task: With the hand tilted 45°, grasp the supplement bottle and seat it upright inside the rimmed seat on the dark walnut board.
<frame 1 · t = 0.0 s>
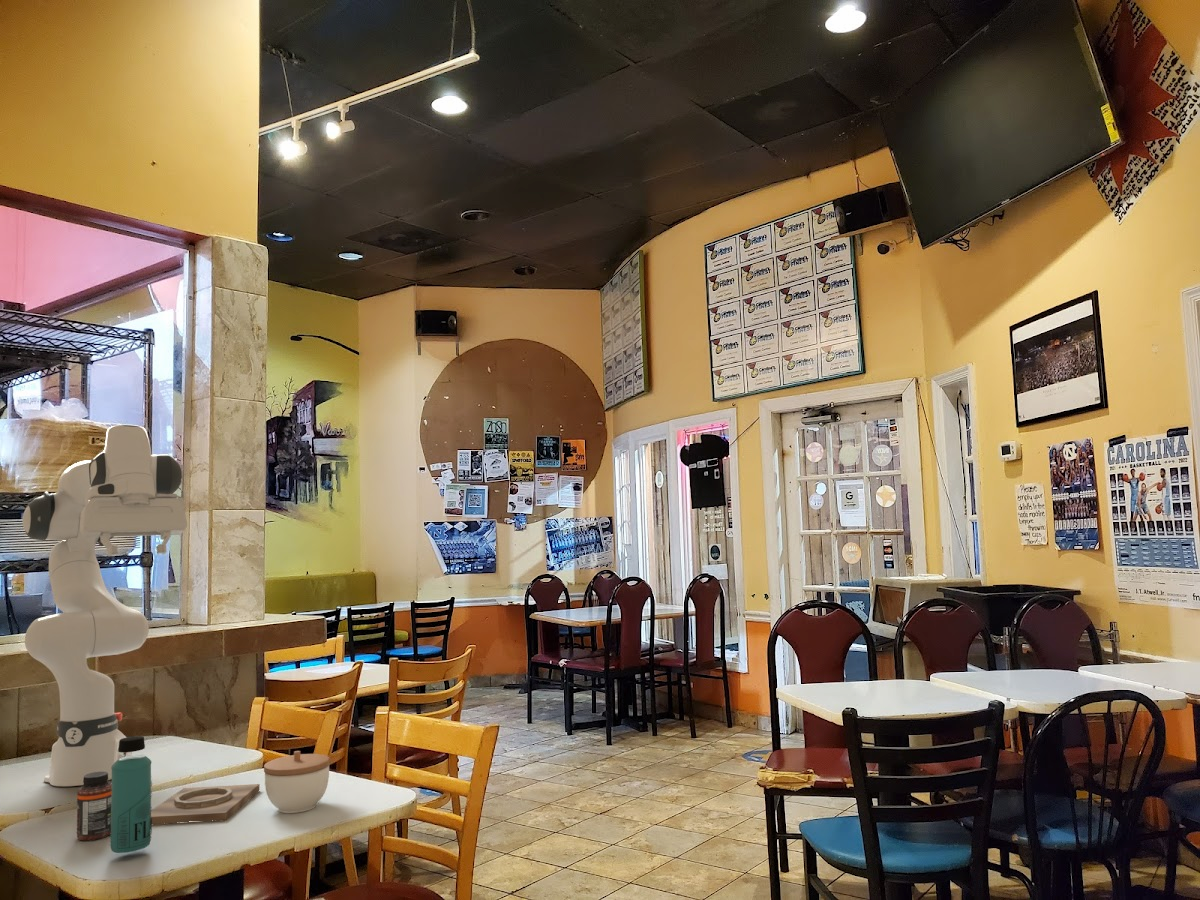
hand: (137, 554, 183), 52 cm above the table, tool tilted 20°, fingers open, 8 cm apart
supplement bottle: (94, 837, 163), on the table
beverage bottle: (130, 856, 152), on the table
lidded bowl: (297, 808, 176), on the table
walnut seat board: (203, 807, 179), on the table
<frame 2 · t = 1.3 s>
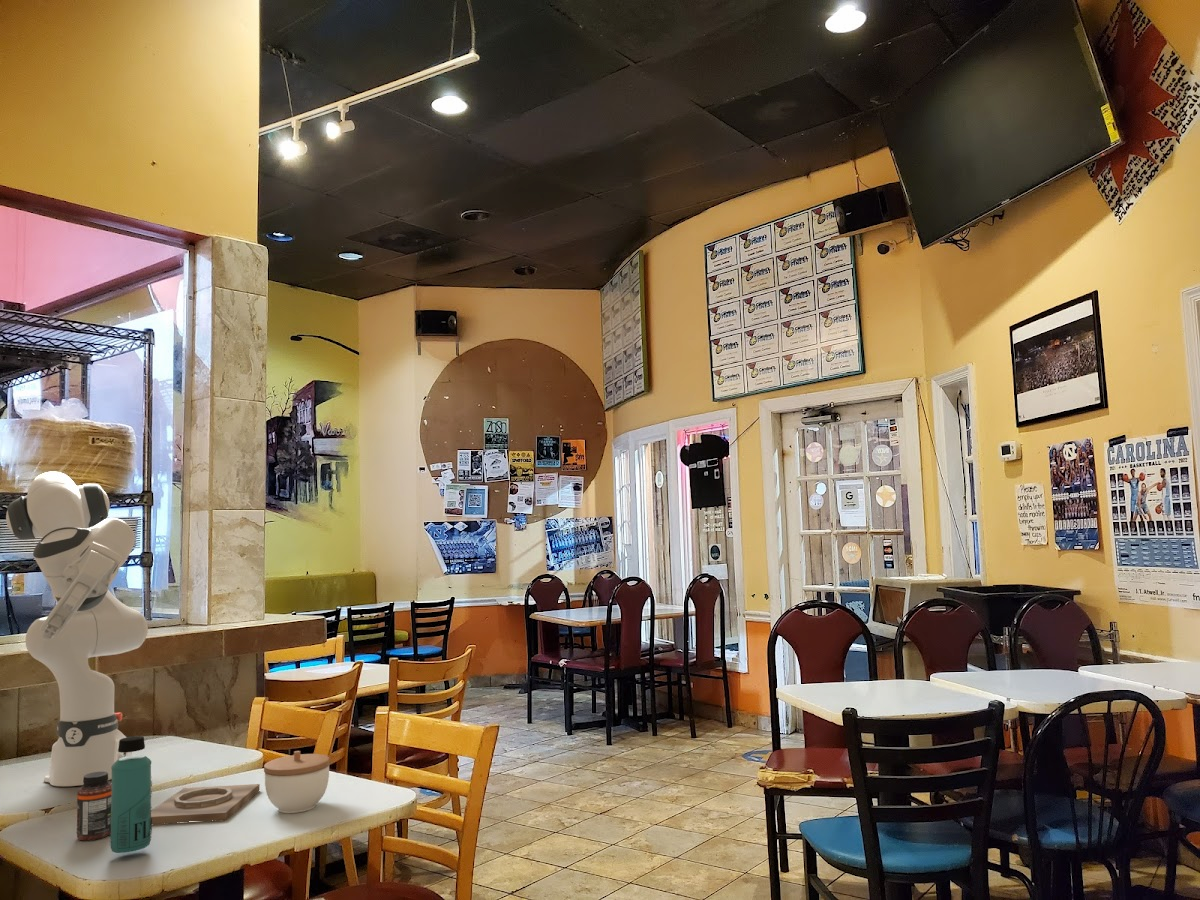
hand: (57, 621, 166), 40 cm above the table, tool tilted 55°, fingers open, 8 cm apart
nothing on the table moved.
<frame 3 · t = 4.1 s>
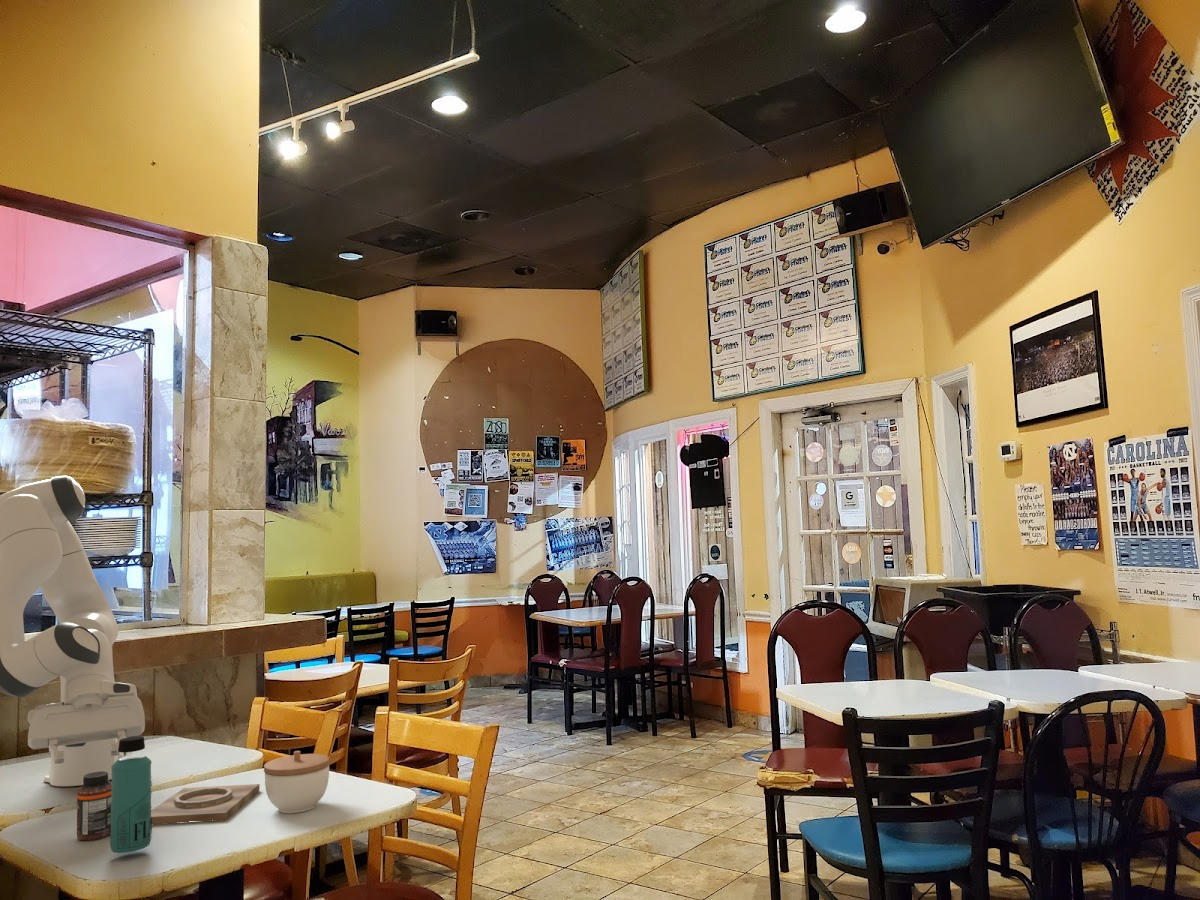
hand: (87, 758, 170), 13 cm above the table, tool tilted 45°, fingers open, 8 cm apart
nothing on the table moved.
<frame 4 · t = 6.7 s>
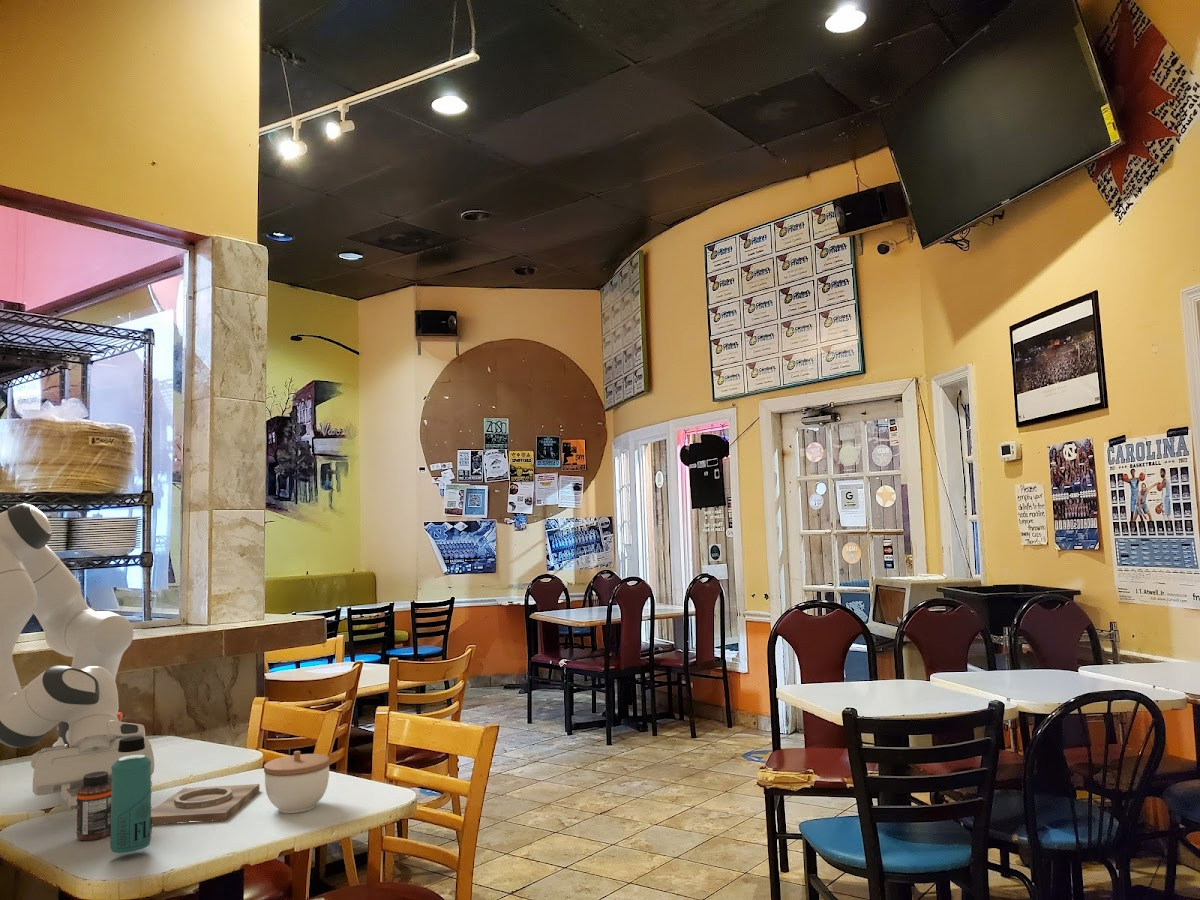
hand: (95, 804, 163), 6 cm above the table, tool tilted 45°, fingers closed on supplement bottle, 6 cm apart
supplement bottle: (94, 837, 163), on the table, touching gripper
everything else where it was.
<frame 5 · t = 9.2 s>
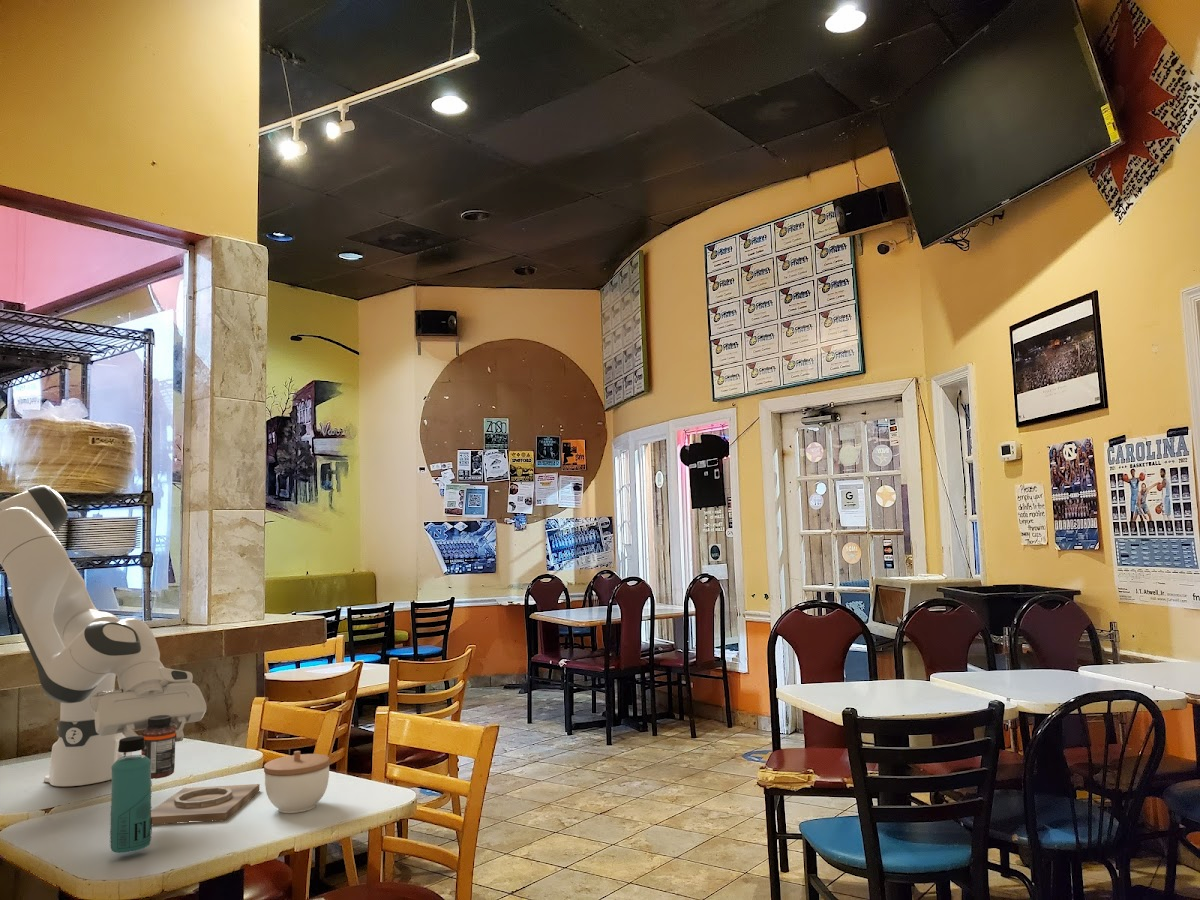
hand: (159, 742, 172), 15 cm above the table, tool tilted 45°, fingers closed on supplement bottle, 6 cm apart
supplement bottle: (157, 776, 172), point 8 cm above the table, touching gripper
everything else where it was.
when the fingers open (9 cm above the table, at t = 12.0 s): supplement bottle drops 1 cm, resting on walnut seat board.
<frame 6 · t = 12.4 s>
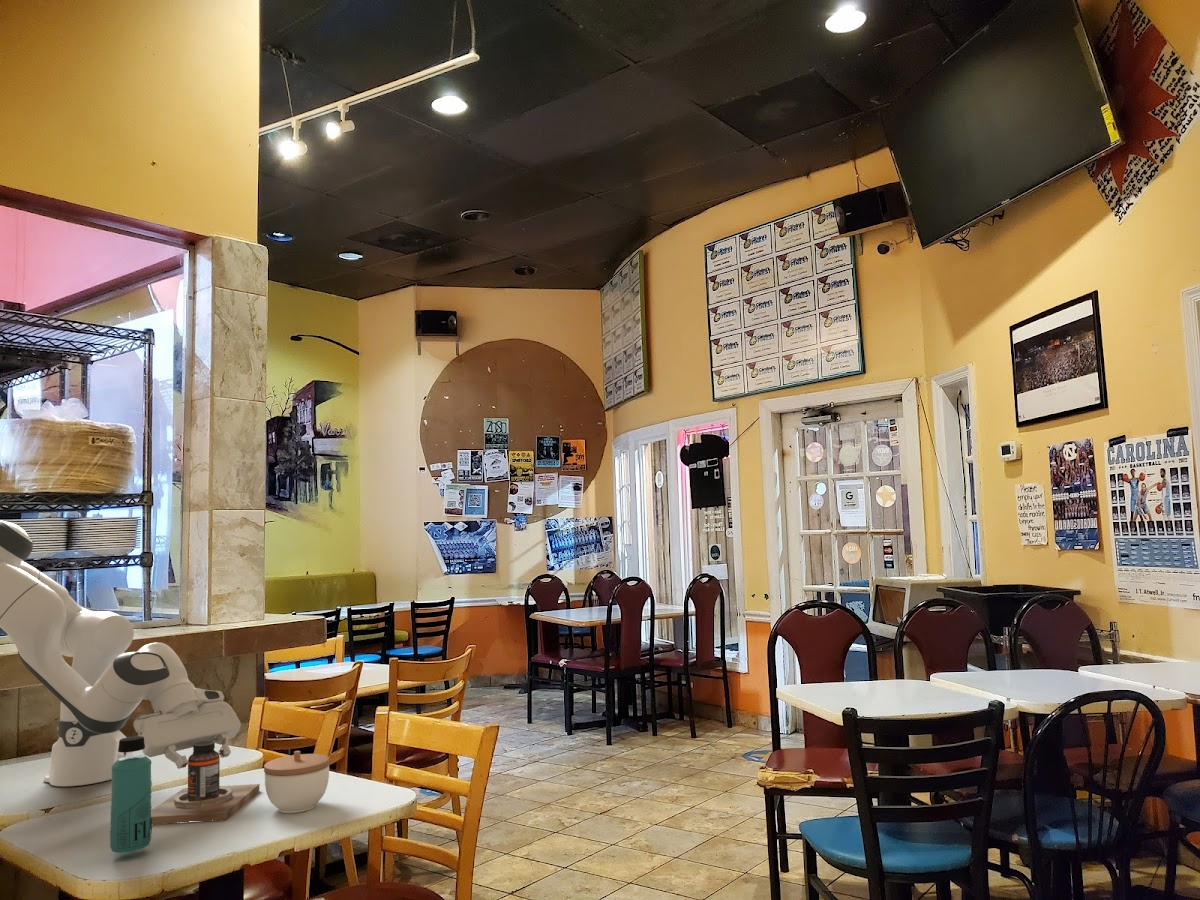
hand: (205, 760, 179), 9 cm above the table, tool tilted 45°, fingers open, 8 cm apart
supplement bottle: (203, 800, 179), point 1 cm above the table, touching walnut seat board
everything else where it was.
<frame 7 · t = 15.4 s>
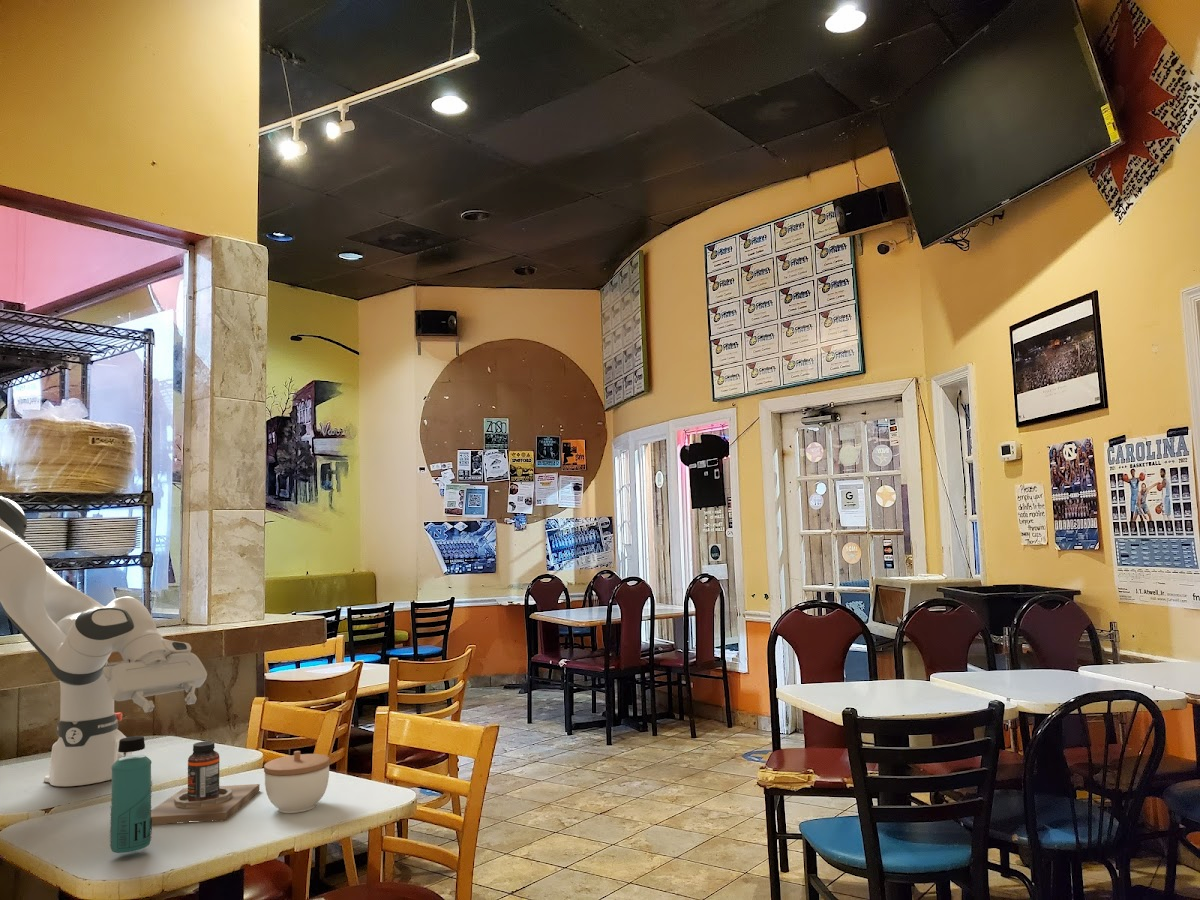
hand: (171, 706, 188), 19 cm above the table, tool tilted 45°, fingers open, 8 cm apart
nothing on the table moved.
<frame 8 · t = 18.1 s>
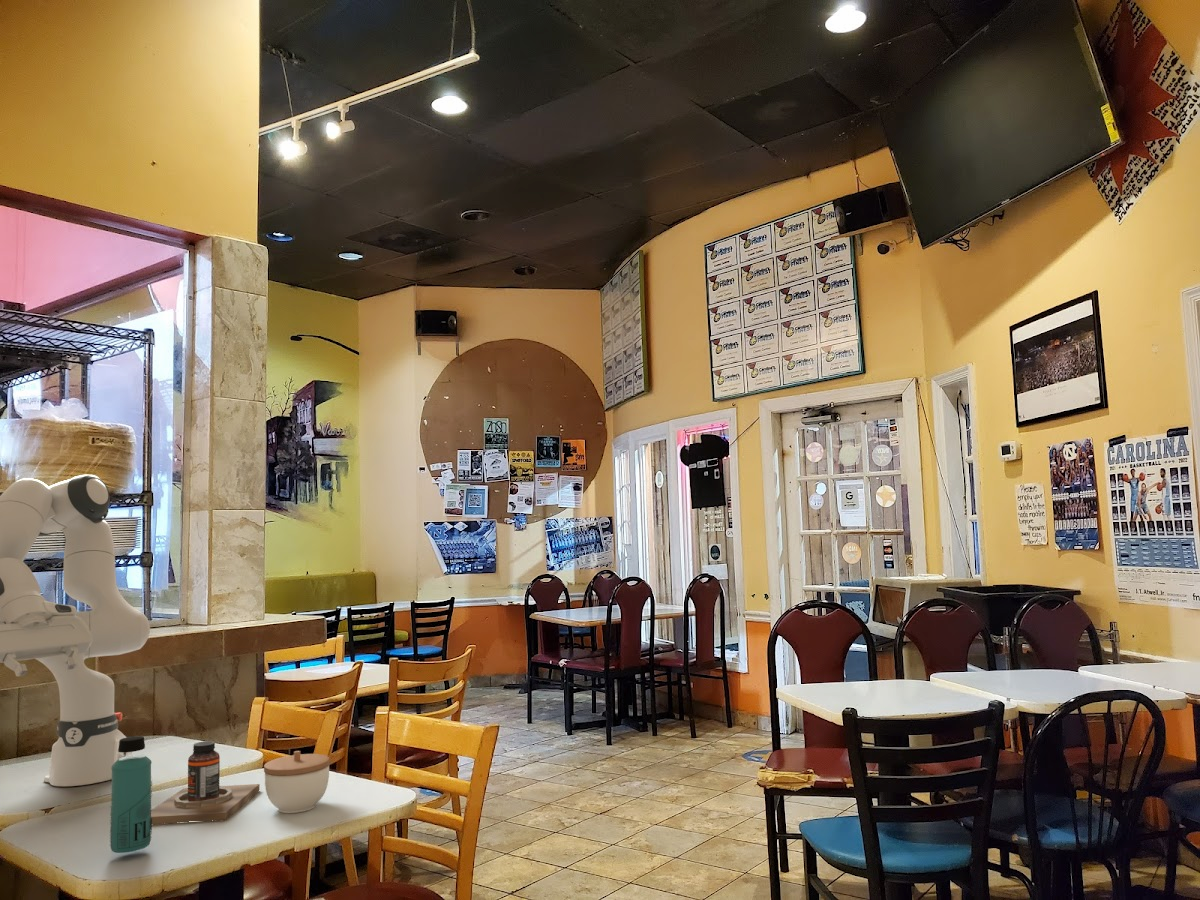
hand: (48, 670, 176), 29 cm above the table, tool tilted 45°, fingers open, 8 cm apart
nothing on the table moved.
at the end: supplement bottle 0.0 cm off-centre on the walnut seat board, point 1.3 cm above the walnut seat board's base; supplement bottle tilted 0°; the gripper is holding nothing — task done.
